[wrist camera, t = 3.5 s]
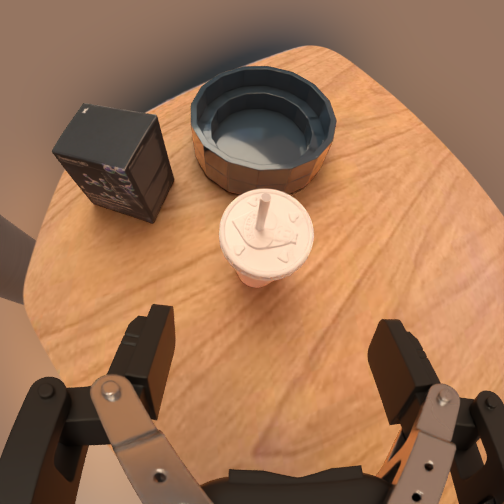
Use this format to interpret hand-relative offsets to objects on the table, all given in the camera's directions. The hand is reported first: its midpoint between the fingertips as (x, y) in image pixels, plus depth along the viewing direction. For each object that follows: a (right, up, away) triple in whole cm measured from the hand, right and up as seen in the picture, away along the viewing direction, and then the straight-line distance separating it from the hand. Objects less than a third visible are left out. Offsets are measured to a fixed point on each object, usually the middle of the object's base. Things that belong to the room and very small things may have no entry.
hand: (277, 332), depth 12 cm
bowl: (0, +15, +23) cm, 27 cm away
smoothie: (-1, +1, +19) cm, 19 cm away
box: (-14, +9, +20) cm, 26 cm away
